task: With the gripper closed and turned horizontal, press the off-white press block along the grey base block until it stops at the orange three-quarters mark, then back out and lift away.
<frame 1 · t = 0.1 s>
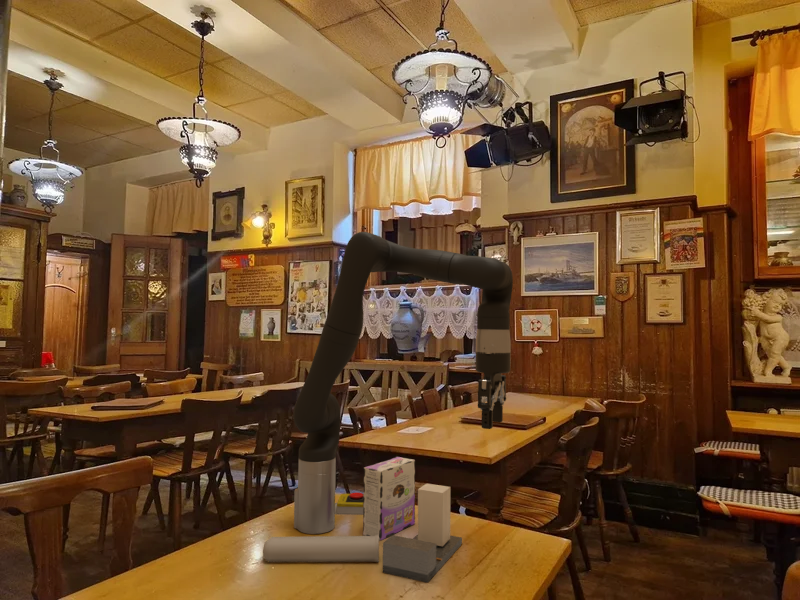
hand: (492, 425, 118), 29 cm above the table, tool pointing down, fingers open, 8 cm apart
candy box: (389, 530, 135), on the table
press block: (434, 514, 124), point 8 cm above the table, slide at 0.0 cm
tube: (320, 561, 117), on the table
emergency button: (360, 511, 150), on the table
grey base block: (424, 557, 119), on the table
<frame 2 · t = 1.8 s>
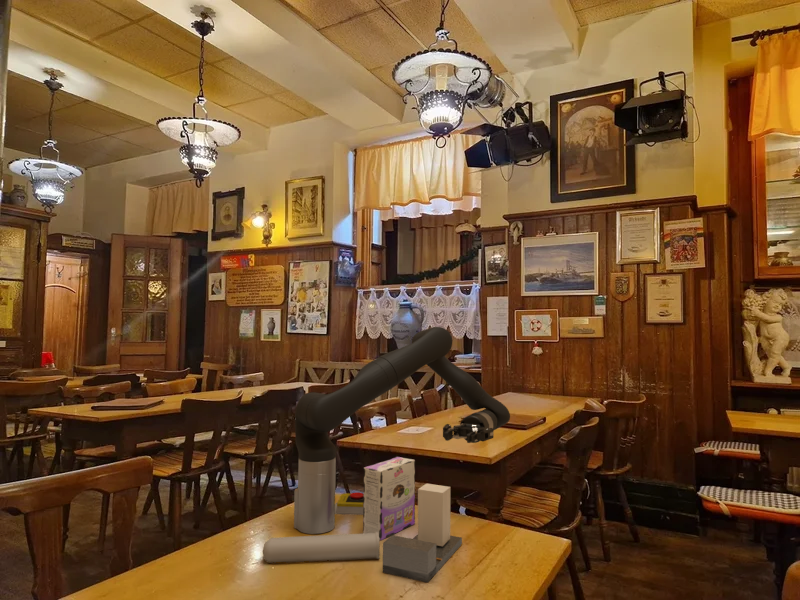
hand: (457, 437, 139), 22 cm above the table, tool horizontal, fingers open, 5 cm apart
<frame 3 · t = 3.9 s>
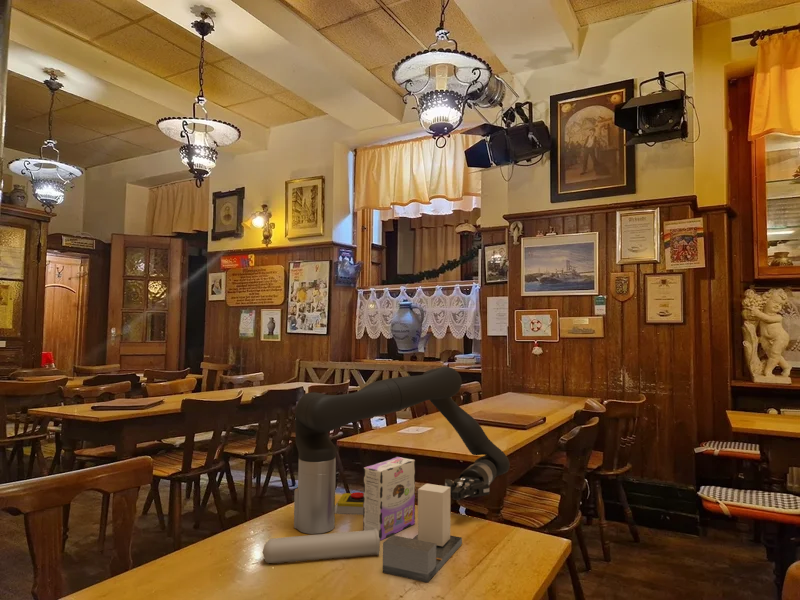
hand: (456, 495, 138), 8 cm above the table, tool horizontal, fingers closed
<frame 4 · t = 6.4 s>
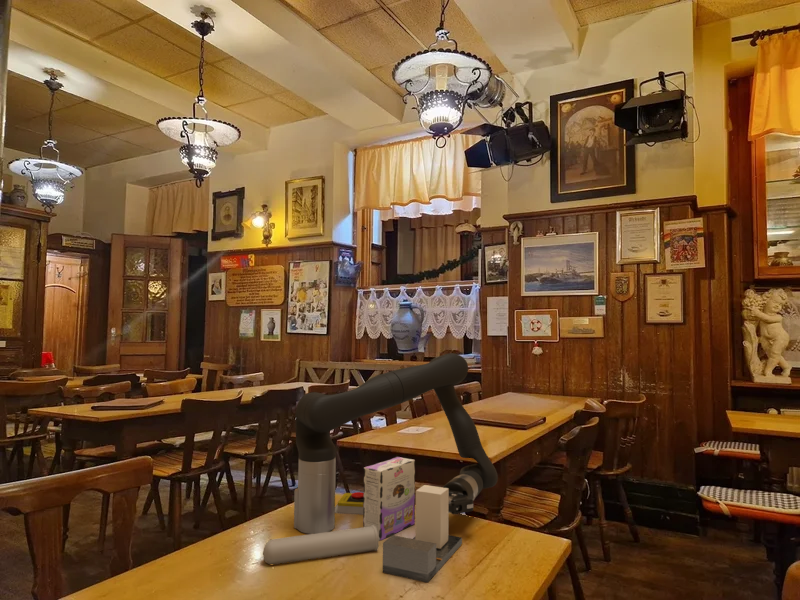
hand: (436, 512, 125), 8 cm above the table, tool horizontal, fingers closed
press block: (432, 515, 123), point 8 cm above the table, slide at 1.3 cm, touching gripper
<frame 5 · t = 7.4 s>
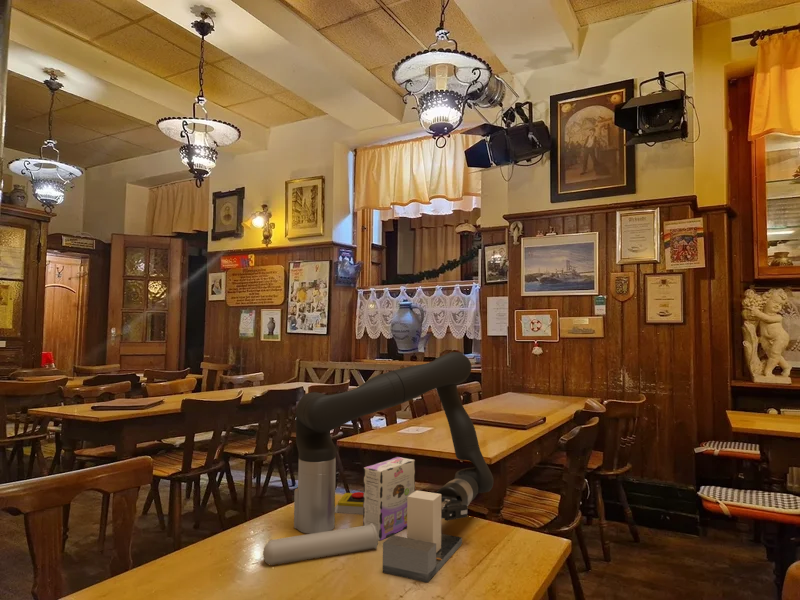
hand: (428, 519, 121), 8 cm above the table, tool horizontal, fingers closed
press block: (424, 522, 119), point 8 cm above the table, slide at 5.9 cm, touching gripper
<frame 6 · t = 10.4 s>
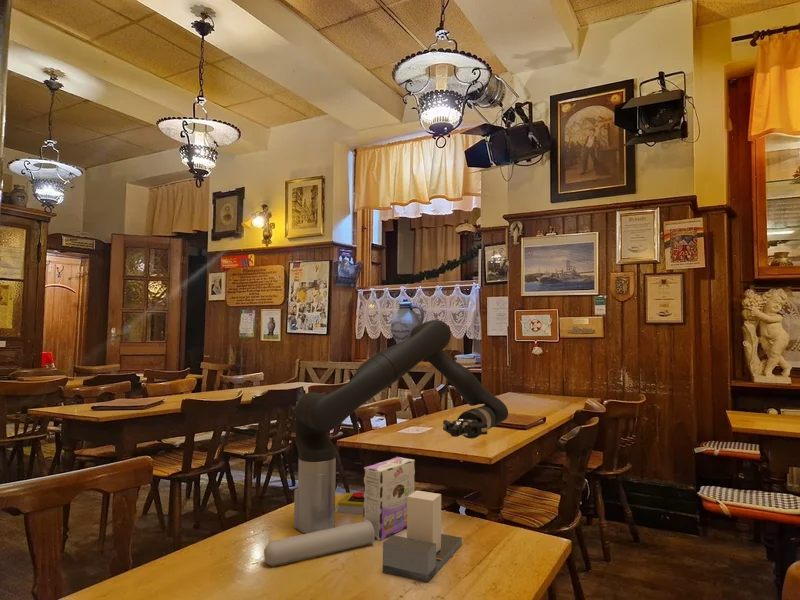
hand: (453, 432, 137), 24 cm above the table, tool horizontal, fingers closed
press block: (424, 522, 119), point 8 cm above the table, slide at 5.9 cm
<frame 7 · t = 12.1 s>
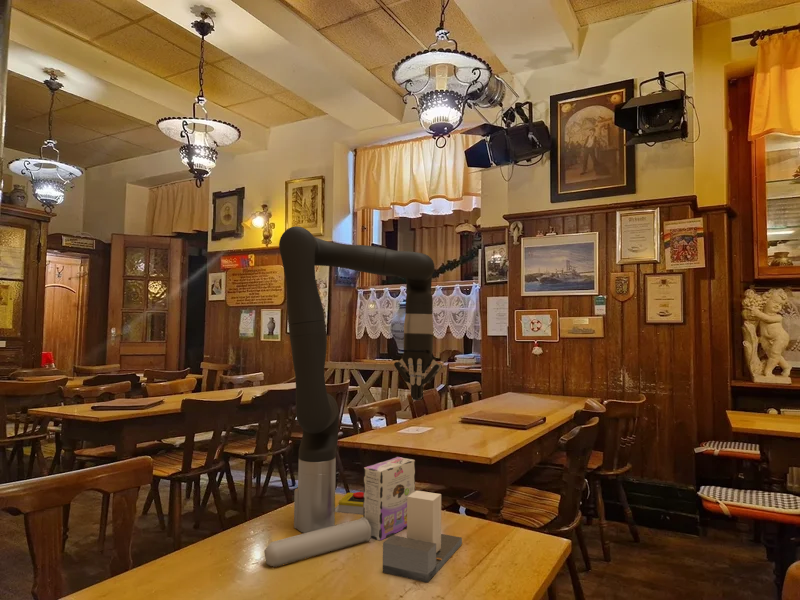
hand: (417, 399, 139), 32 cm above the table, tool pointing down, fingers closed
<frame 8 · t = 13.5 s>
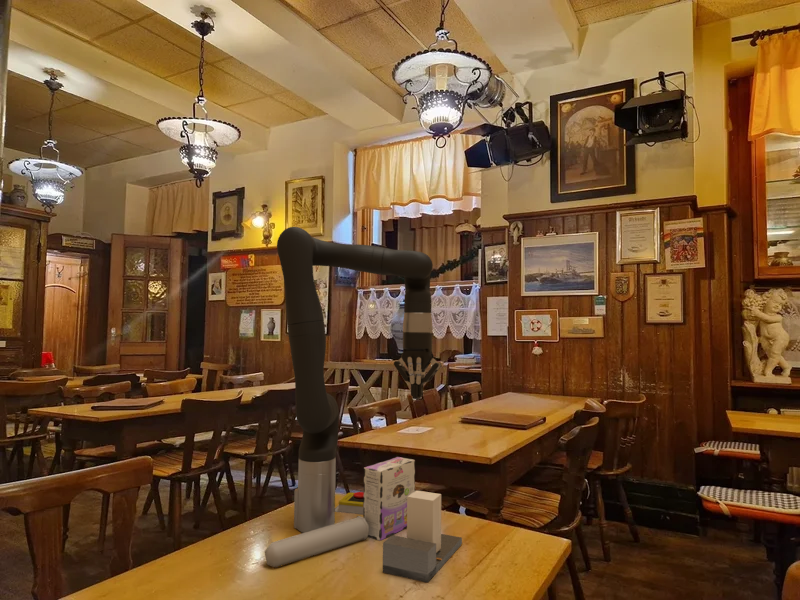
hand: (417, 398, 139), 32 cm above the table, tool pointing down, fingers closed
at the end: press block slide at 5.9 cm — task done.
